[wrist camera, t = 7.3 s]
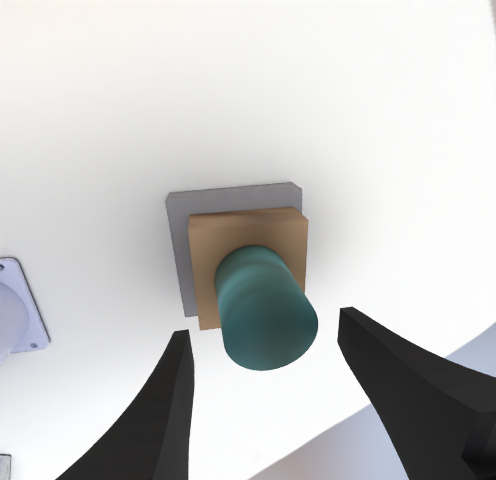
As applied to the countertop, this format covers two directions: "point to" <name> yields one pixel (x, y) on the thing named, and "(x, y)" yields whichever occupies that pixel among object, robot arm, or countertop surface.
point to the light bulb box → (5, 467)
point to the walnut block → (239, 235)
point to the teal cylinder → (262, 310)
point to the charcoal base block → (213, 202)
